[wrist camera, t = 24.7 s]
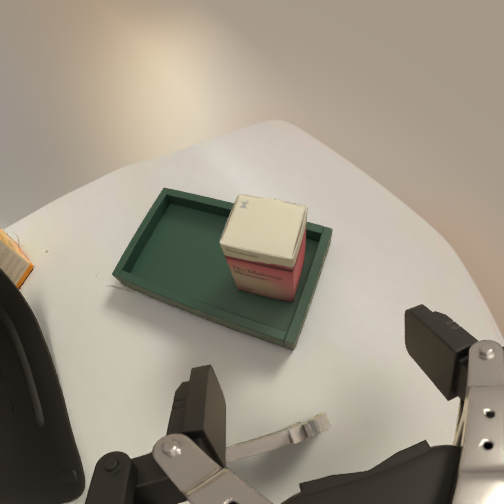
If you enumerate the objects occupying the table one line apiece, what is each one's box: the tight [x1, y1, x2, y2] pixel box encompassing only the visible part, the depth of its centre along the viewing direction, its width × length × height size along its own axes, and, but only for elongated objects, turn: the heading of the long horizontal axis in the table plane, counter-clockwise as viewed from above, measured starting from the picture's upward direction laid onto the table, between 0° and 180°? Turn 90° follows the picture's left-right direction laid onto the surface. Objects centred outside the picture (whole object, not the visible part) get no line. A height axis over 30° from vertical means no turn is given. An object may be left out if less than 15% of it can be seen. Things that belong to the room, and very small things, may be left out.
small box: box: [220, 194, 308, 302], centre depth 24 cm, size 5×4×8 cm
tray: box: [112, 188, 332, 350], centre depth 28 cm, size 18×11×2 cm, turn 68°
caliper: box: [226, 413, 331, 462], centre depth 18 cm, size 20×1×6 cm, turn 110°
